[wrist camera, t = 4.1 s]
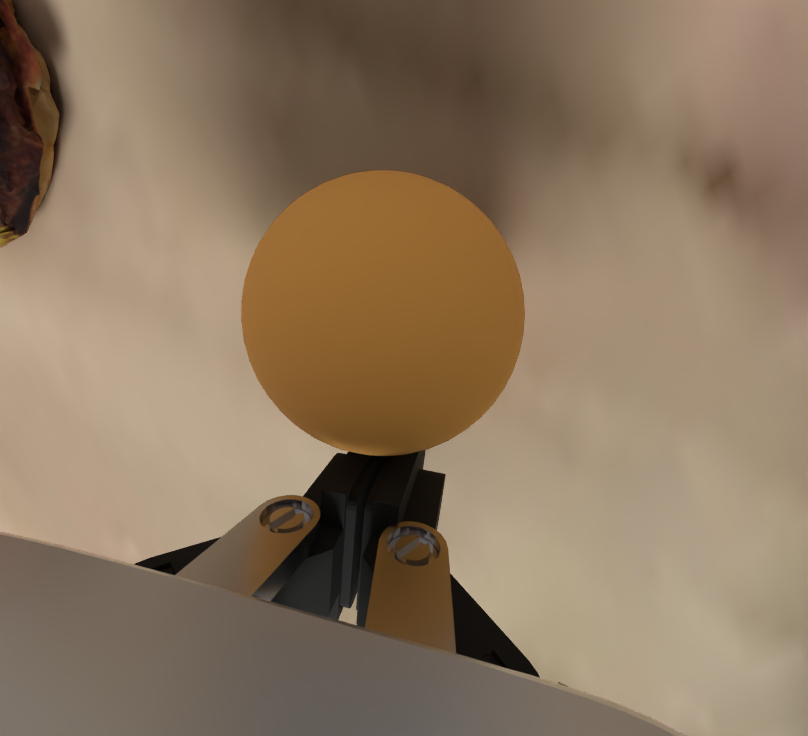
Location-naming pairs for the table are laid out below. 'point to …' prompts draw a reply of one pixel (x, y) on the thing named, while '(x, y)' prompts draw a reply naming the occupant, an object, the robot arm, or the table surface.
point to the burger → (23, 127)
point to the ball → (383, 313)
